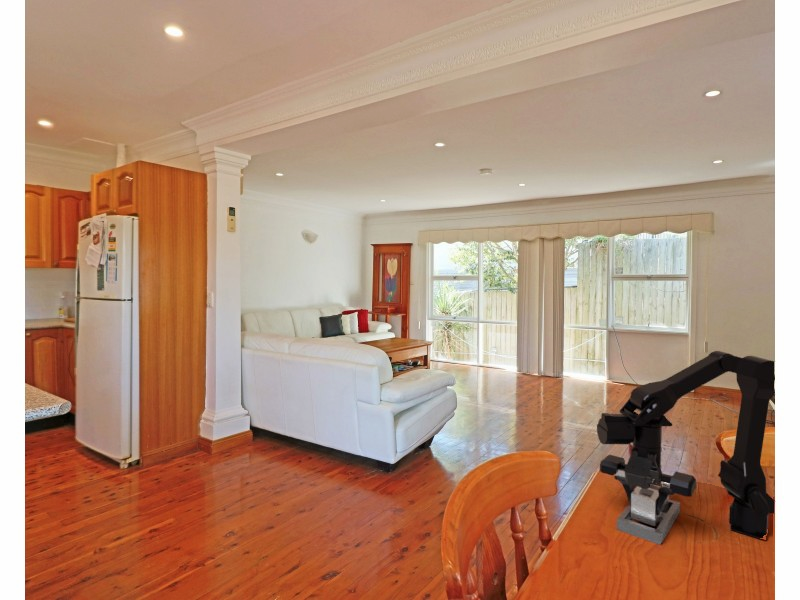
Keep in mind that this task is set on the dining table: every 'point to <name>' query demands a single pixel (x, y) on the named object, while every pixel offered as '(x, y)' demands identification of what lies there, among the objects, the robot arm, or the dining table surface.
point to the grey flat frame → (645, 531)
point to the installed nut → (666, 504)
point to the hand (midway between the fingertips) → (644, 510)
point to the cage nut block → (645, 505)
